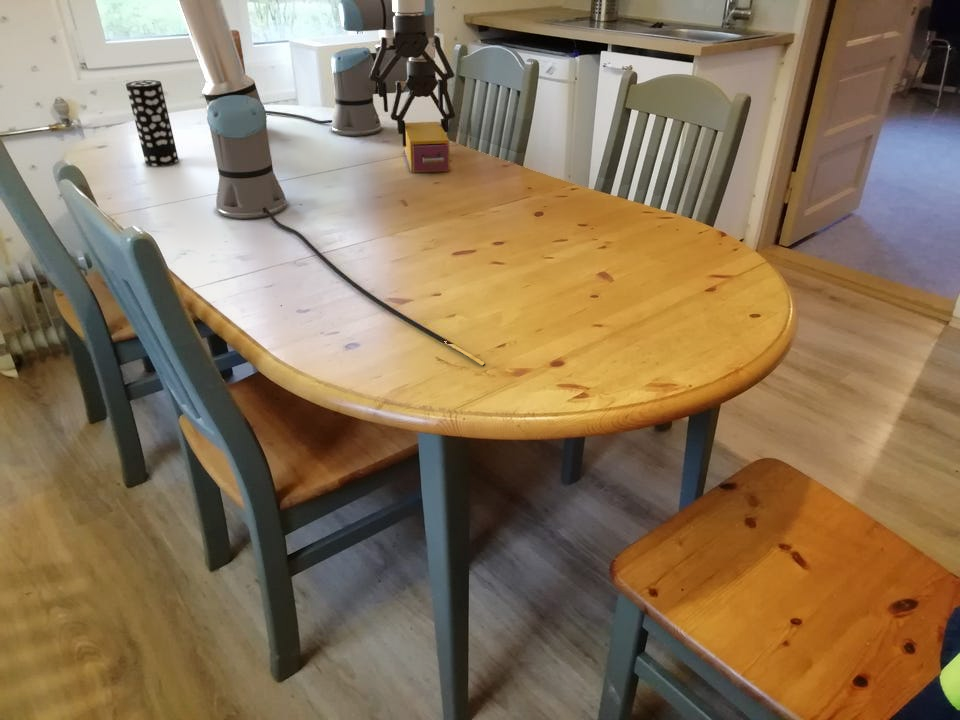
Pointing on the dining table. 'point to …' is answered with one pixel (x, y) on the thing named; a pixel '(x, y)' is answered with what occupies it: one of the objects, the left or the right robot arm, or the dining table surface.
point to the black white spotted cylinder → (152, 122)
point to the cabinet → (423, 139)
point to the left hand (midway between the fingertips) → (413, 109)
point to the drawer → (430, 157)
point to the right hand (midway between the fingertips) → (423, 144)
